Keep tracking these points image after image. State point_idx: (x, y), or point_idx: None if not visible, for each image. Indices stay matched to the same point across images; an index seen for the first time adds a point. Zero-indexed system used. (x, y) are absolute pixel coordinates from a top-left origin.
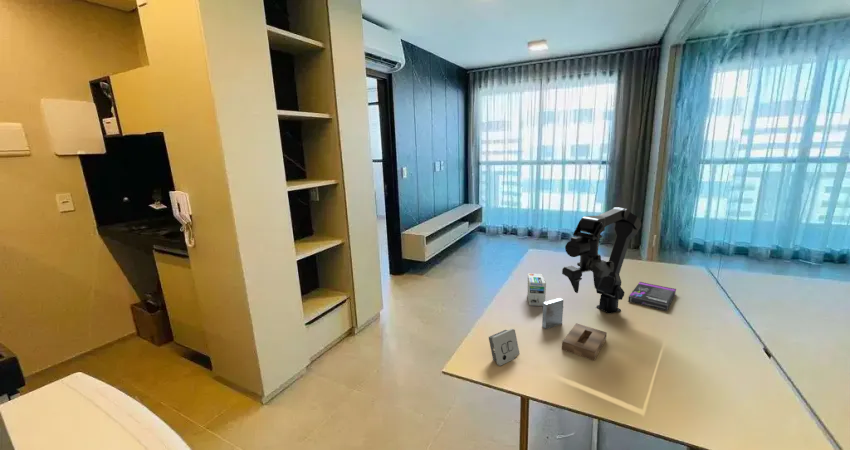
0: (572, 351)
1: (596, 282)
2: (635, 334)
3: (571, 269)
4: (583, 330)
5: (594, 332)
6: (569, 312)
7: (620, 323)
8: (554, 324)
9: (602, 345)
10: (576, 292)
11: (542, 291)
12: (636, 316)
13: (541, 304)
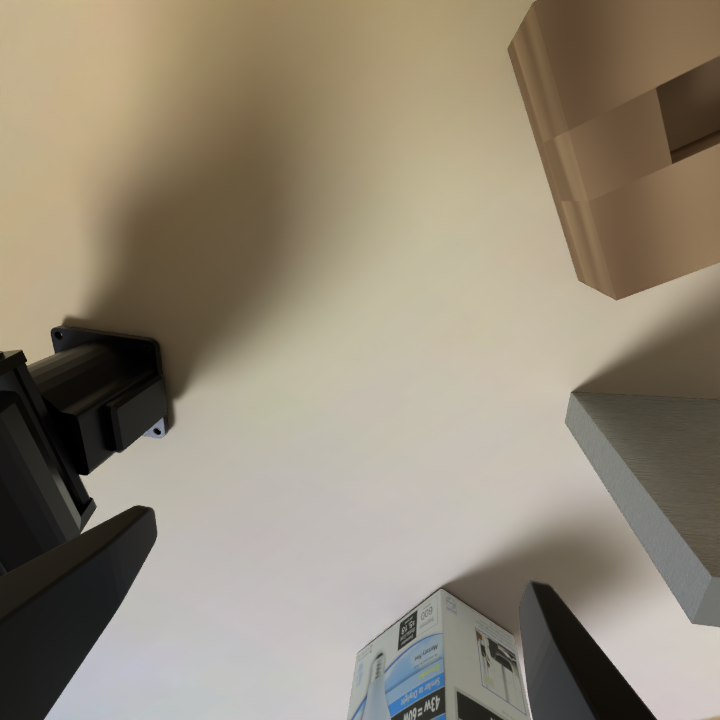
0: None
1: (73, 615)
2: (187, 32)
3: None
4: (701, 160)
5: (648, 67)
6: (370, 475)
7: (174, 214)
8: (671, 413)
9: None
10: (551, 596)
11: (466, 715)
12: (9, 226)
13: (461, 609)
